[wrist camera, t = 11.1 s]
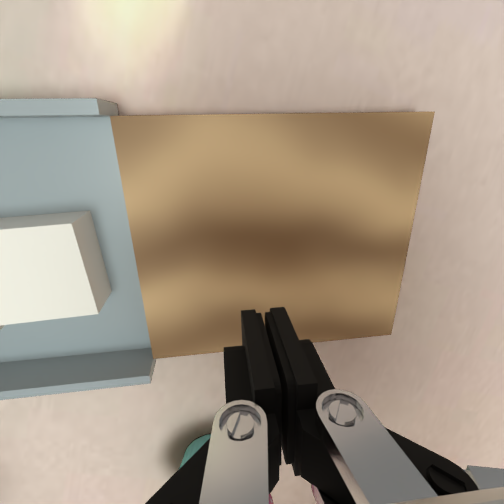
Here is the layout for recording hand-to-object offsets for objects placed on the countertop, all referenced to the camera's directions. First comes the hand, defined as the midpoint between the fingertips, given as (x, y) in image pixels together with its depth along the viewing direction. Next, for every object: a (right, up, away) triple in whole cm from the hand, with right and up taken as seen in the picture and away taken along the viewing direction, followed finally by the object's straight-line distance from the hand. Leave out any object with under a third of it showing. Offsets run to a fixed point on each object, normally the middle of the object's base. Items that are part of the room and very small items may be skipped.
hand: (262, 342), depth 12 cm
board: (+1, +4, +7) cm, 8 cm away
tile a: (-11, +3, +5) cm, 13 cm away
